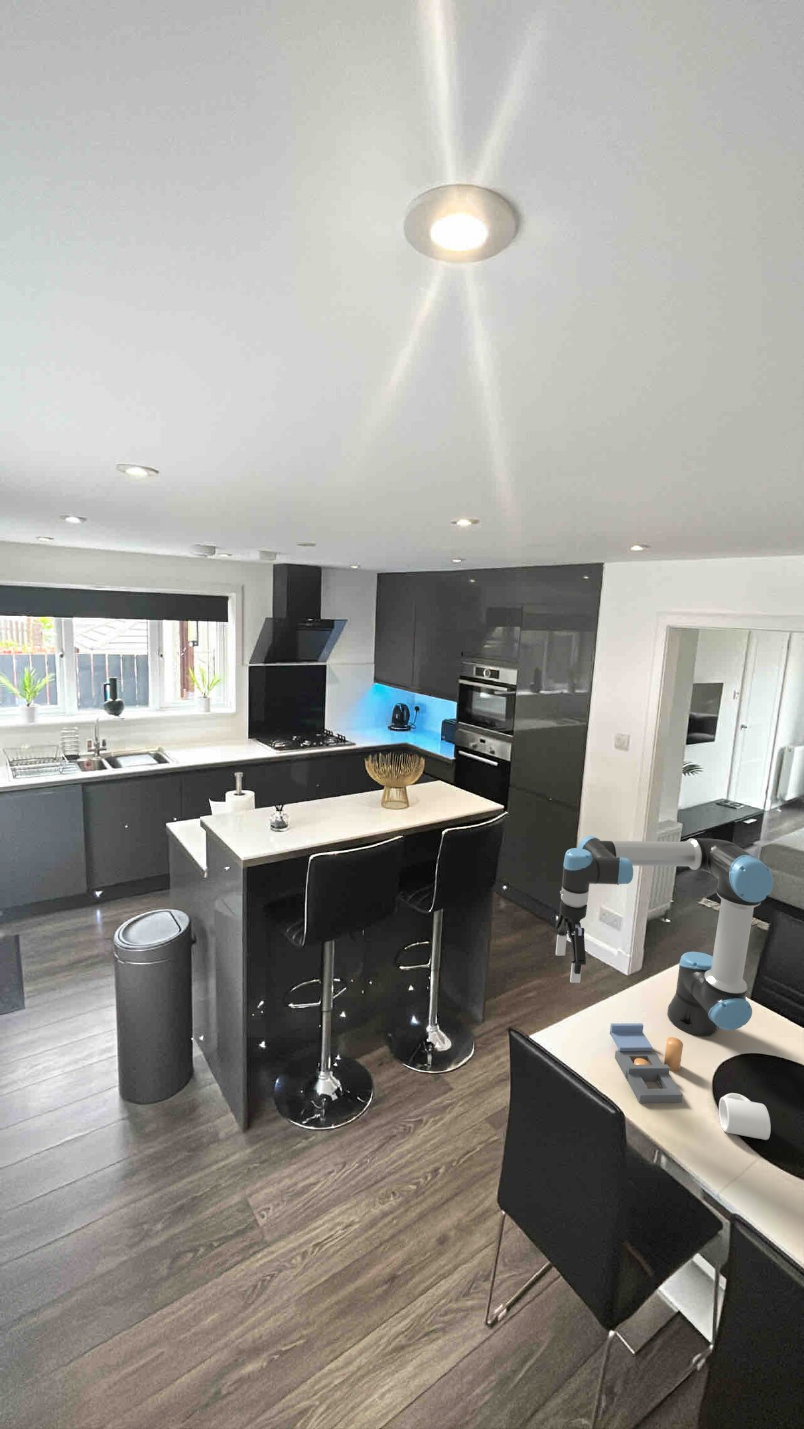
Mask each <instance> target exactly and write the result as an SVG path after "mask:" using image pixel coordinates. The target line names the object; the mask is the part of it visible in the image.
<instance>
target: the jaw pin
mask: <svg viewBox="0 0 804 1429" xmlns="http://www.w3.org/2000/svg"><path fill="white" fill-rule="evenodd" d="M683 1048H684V1043H683V1041H681V1039H679V1038H677V1037H674V1036H670V1037H668V1038H666V1044H665V1052H664V1058H663V1059H664V1060H663V1065H665V1064H667V1065H668V1066H669V1068H670V1070H669V1072H679V1071H680V1068H681V1062H682V1056H683Z"/></svg>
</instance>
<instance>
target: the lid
mask: <svg viewBox="0 0 804 1429" xmlns="http://www.w3.org/2000/svg"><path fill="white" fill-rule="evenodd" d="M609 1027H610V1029H609V1035H610V1036H611V1038H612V1040H613V1041H614V1042H613V1043H615V1046H616V1047H617V1049H618V1051H652V1050H653V1045H652V1044H651V1043H650V1041H649V1040H648V1038H647V1036H646V1035H645V1033H644V1024H643V1023H642V1022H639V1023H638V1022H637V1023H636V1022H634V1023H632V1022H631V1023H630V1022H629V1023H623V1022H622V1023H621V1022H620V1023H613V1022H612V1023H610V1026H609Z"/></svg>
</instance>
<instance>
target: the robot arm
mask: <svg viewBox="0 0 804 1429" xmlns="http://www.w3.org/2000/svg"><path fill="white" fill-rule="evenodd" d="M562 866H563V868H562V869H563V870H562V881H561V890H560V891H559V894H560V902H559V913H558V918H557V919H556V923H555V926H554V928H555V929H556V934H557V935H556V945H555V946H556V947H555V956H558V957H560V956H566V949H567V948H566V947H567V939H568V938H569V939H570V944H571V945H570V946H571V952H572V960H571V966H570V968H571V969H570V977H569V982H570V983H571V984H572V983H574V984H575V983H576V984H578V983H579V984H580V983H581V979H582V978H581V976H582V968H583V966H586V965H587V960H586V958H587V957H586V944H585V942H586V941H585V932H586V931H585V928H584V927H582V926H581V925H582V924H581V920H582V919H585V918H586V917H587V910H588V901H589V892H590V885H617V886H619V885H629V884H630V883H631V882H632V881H633V878H634V867H637V866H638V867H639V866H641V867H643V866H644V867H655V866H656V867H689V869H690V870H692V871H695V870H696V871H703V872H707V873H709V874H711V875H712V876H713V877H715V878H716V879H717V887H716V895H717V896H718V897H719V898H720V906H719V912H718V918H717V919H718V920H717V924H716V925H717V926H716V934H715V939H714V940H715V941H714V945H713V953H712V955H710V954H707V953H704V952H701V951H688V952H685V953H683V954H682V955H681V957H680V960H679V964H678V965H679V967H678V973H677V974H678V975H677V981H676V982H677V983H676V988H675V989H676V991H675V994H674V996H673V997H672V1000H671V1002H670V1003H669V1004H668V1006H667V1013H666V1014H667V1017H668V1020H669V1021H670V1022H671V1023H672V1024H673V1025H674V1026H675V1027H677V1028H678V1029H679V1030H681V1031H684V1032H685V1033H688V1034H690V1035H693V1036H701V1037H707V1036H712V1035H714V1034H715V1033H717V1030H718V1028H720V1029H722V1030H725V1031H735V1030H738V1029H740V1028H742V1027H743V1026H745V1025H747V1024H748V1023H749V1021H750V1020H751V1018H752V1015H753V1009H752V1005H751V1003H750V1002H749V1001H748V1000H747V993H748V992H747V991H748V984H747V982H746V981H745V980H744V974H745V973H744V972H745V967H746V962H747V959H746V958H747V955H748V947H749V941H750V934H751V927H752V921H753V917H754V908H756V907H758V906H760V905H761V903H762V902H763V901H764V900H765V899H767V896H768V895H770V894H771V892H772V890H773V887H774V877H773V873H772V871H771V870H770V868H769V867H768V866H767V865H766V864H765V863H764V862H763V861H762V860H761V859H759V858H758V857H756V856H754V855H752V854H751V853H749V852H747V851H746V850H745V849H744V848H741V847H740V846H739V845H737V844H736V843H734V842H732V841H728V840H723V839H718V838H717V839H715V838H697V837H696V838H695V837H694V838H691V837H690V838H689V839H687V840H686V841H666V840H663V841H659V840H657V841H656V840H654V841H653V840H650V841H649V840H648V841H647V840H639V841H638V840H635V841H634V840H601V839H599V838H597V837H596V836H593V835H588V836H584V837H583V838H581V840H580V841H579V843H578V847H574V848H570V849H567V851H566V852H565V854H564V859H563V865H562ZM567 935H568V936H567ZM567 937H568V938H567Z"/></svg>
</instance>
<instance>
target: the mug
mask: <svg viewBox="0 0 804 1429" xmlns="http://www.w3.org/2000/svg"><path fill="white" fill-rule="evenodd" d="M718 1115H719V1122H720V1126H721V1129H722V1130H723V1132H725V1133H727V1134H733V1135H738V1136H744V1137H749V1138H753V1139H758V1140H759V1139H761V1140H764V1141H767V1140H769V1139H770V1135H771V1128H772V1127H771V1119H770V1114H769V1111H768V1109H767V1106H766V1105H765V1104H763V1103H761V1102H755V1101H751V1100H750V1099H749V1098H747V1097H746V1096H745V1095H742V1094H740V1093H734V1092H730V1093H727V1094H725V1095H723V1096H722V1097H720V1099H719V1102H718Z"/></svg>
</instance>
